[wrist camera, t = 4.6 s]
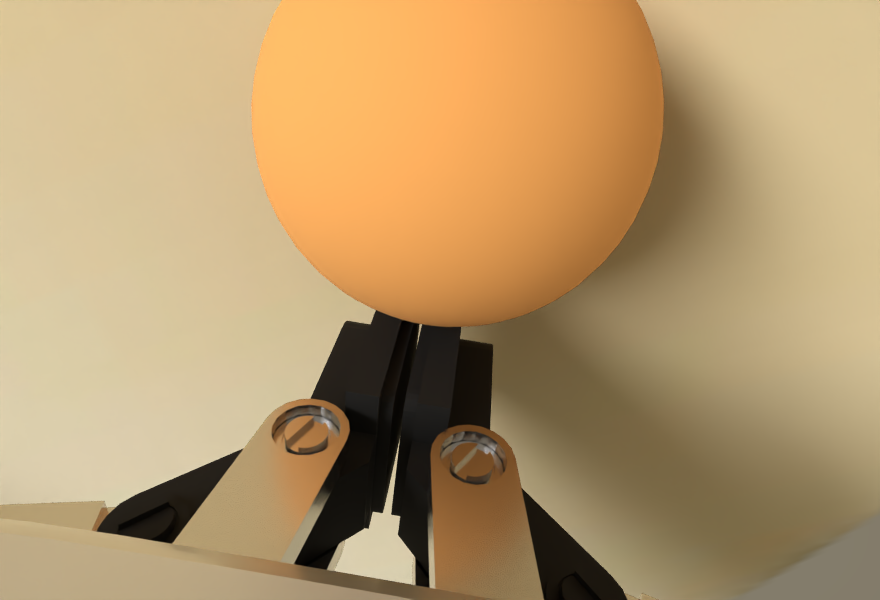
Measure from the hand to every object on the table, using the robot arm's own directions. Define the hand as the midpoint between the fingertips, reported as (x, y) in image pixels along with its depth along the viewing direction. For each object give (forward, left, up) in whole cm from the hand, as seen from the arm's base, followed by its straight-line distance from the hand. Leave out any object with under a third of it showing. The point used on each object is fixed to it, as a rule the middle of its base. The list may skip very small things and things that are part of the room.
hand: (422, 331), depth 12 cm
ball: (+4, +2, +1) cm, 5 cm away
